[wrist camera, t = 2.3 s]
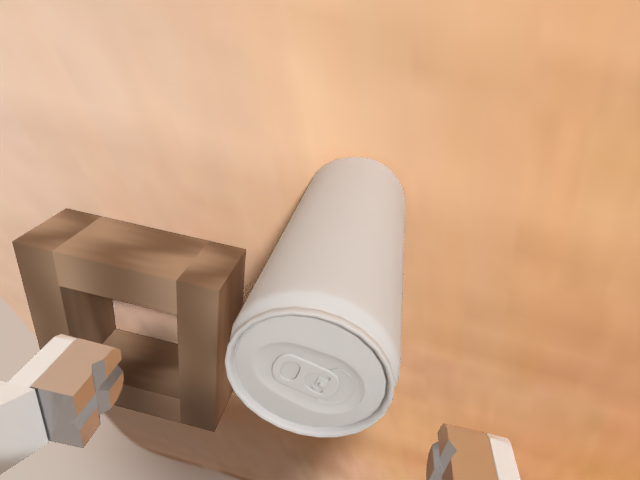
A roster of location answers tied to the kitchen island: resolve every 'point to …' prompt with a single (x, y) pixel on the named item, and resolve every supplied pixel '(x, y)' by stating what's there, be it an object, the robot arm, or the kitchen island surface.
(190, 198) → the kitchen island surface
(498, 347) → the kitchen island surface
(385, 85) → the kitchen island surface
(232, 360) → the beverage can
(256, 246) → the kitchen island surface
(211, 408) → the walnut holder
